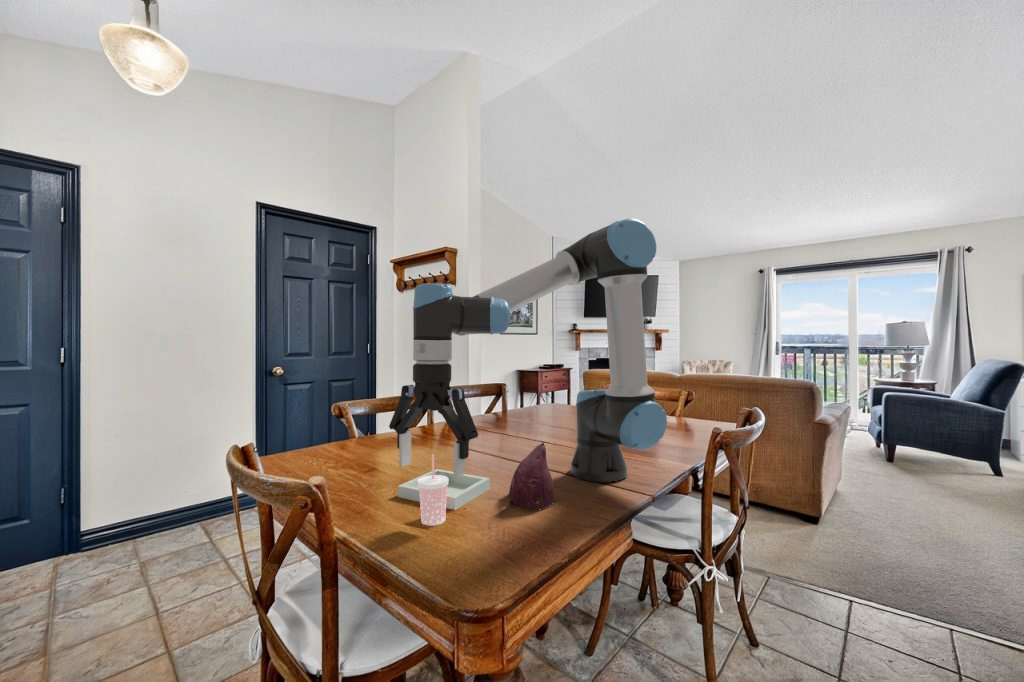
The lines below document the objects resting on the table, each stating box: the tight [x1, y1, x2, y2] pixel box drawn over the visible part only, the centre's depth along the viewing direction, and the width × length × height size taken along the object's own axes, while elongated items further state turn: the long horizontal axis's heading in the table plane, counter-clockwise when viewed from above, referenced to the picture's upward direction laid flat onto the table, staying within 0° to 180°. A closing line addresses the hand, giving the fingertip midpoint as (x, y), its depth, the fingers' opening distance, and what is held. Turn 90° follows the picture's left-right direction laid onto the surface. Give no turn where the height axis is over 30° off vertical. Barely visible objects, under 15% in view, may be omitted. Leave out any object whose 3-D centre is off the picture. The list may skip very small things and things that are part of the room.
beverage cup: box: [417, 453, 449, 526], centre depth 82 cm, size 6×6×14 cm
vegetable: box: [508, 441, 555, 511], centre depth 94 cm, size 10×10×15 cm
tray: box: [397, 468, 491, 511], centre depth 97 cm, size 16×14×4 cm
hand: (431, 470), depth 82 cm, fingers open, 13 cm apart
